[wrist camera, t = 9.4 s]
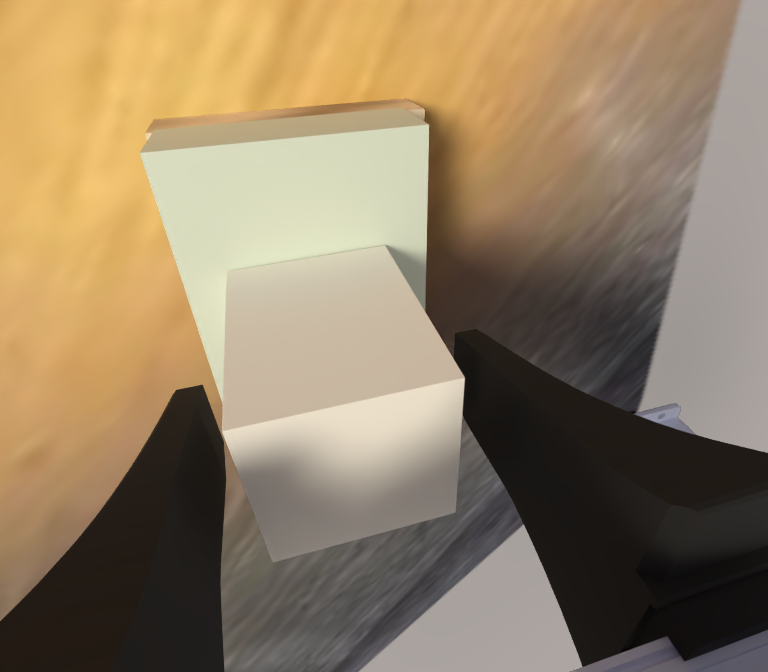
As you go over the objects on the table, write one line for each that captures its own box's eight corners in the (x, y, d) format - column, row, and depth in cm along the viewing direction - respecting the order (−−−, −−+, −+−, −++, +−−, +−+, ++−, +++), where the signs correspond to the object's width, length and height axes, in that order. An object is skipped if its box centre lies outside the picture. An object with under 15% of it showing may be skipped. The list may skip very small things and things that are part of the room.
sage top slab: (401, 107, 14) (429, 124, 12) (404, 364, 20) (423, 404, 18) (154, 129, 13) (139, 152, 11) (235, 398, 19) (236, 445, 17)
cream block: (385, 245, 14) (465, 377, 9) (391, 363, 16) (455, 512, 12) (226, 271, 13) (222, 431, 8) (260, 390, 15) (273, 562, 11)
